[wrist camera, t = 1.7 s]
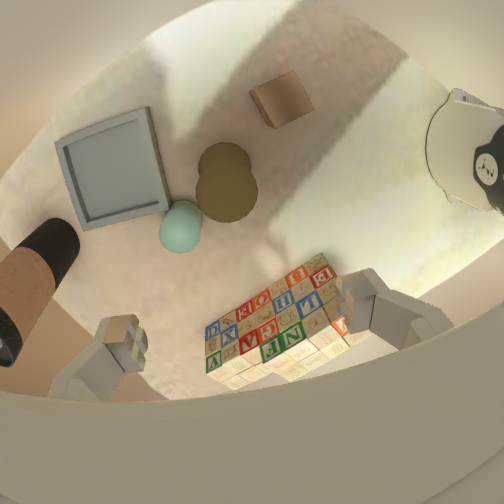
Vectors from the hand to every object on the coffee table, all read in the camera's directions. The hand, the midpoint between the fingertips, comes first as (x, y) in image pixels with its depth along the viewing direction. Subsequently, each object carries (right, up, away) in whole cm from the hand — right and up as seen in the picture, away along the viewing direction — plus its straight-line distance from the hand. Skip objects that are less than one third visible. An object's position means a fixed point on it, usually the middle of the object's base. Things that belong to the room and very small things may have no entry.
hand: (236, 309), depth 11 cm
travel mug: (-26, +4, +22) cm, 35 cm away
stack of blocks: (+4, -6, +32) cm, 32 cm away
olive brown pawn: (-3, +12, +21) cm, 24 cm away
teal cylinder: (-8, +6, +23) cm, 25 cm away
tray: (-16, +12, +19) cm, 27 cm away
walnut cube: (+3, +19, +17) cm, 26 cm away
